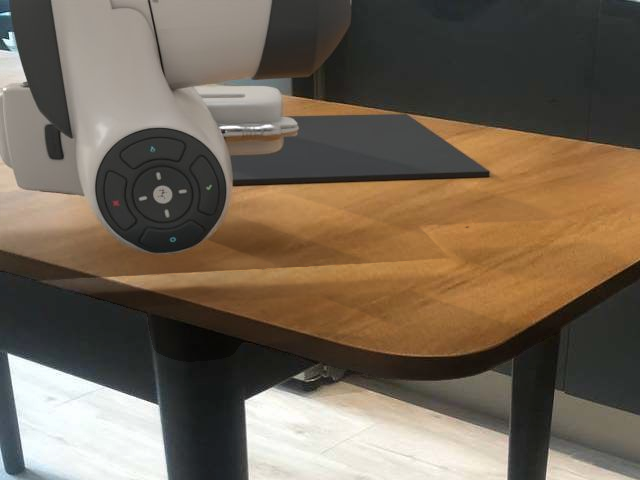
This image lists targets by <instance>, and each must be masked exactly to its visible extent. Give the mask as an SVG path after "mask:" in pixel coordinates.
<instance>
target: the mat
mask: <svg viewBox="0 0 640 480" xmlns="http://www.w3.org/2000/svg"><path fill="white" fill-rule="evenodd" d="M283 116H284V117H289V118H292V119H294V120H295V121H296V122H297V125H298V127H299V131H298V134H297V135H296V136H284V143H283V146H282V148H281V149H280V150H279V151H277V152H274V153H268V154H256V155H230V159H231V165H232V174H233V186H253V185H284V184H285V185H286V184H287V185H288V184H310V183H311V184H316V183H342V182H343V183H344V182H345V183H346V182H371V181H373V182H374V181H375V182H376V181H399V180H400V181H403V180H404V181H405V180H432V179H461V178H462V179H463V178H489V177H490V173H491V172H490V170H489V169H487V168H486V167H484V166H483V165H481V164H480V163H478V162H477V161H475V160H474V159H473V158H471V156H469V155H467V154H465V153H464V152H462V151H461V150H460V149H458V148H457V147H455V146H454V145H452V144H451V143H449V142H448V141H446V140H445V139H444V138H443V137H441V136H440V135H438V134H436V133H435V132H434V131H432V130H431V129H429V128H428V127H426V126H425V125H423V124H422V123H421V122H419V121H417V120H416V119H415V118H414V117H412V116H410V115H409V114H407V113H390V114H388V113H385V114H384V113H383V114H334V115H327V114H326V115H283Z"/></svg>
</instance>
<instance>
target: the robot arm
mask: <svg viewBox="0 0 640 480" xmlns="http://www.w3.org/2000/svg"><path fill="white" fill-rule="evenodd" d="M8 2H9V3H8V5H9V12H10V18H11V24H12V30H13V35H14V40H15V45H16V48H17V52H18V57H19V61H20V64H21V67H22V70H23V73H24V76H25V80H26V81H23V82H12V83H9V84H6V85H5V86H3V87H0V158H1V160H2V162H3V164H4V165H6V167H8V168H10V169H11V170H12V172H13V176H14V178H15V182H16V185H17V187H18V188H19V189H22V190H25V191H35V192H42V193H53V194H61V195H71V196H73V195H74V196H80V197H84V198H85V200H86V202H87V204H88V206H89V208H90V210H91V212H92V214H93V215H94V217H95V218H96V220H97V221H98V223H99V224H100V226H102V227H103V229H104V230H105V231H106V232H107V233H108V234H109V235H110V236H111V237H112V238H114V239H115V240H116V241H117V242H119V243H120V244H122V245H124V246H126V247H128V248H130V249H131V250H135V251H137V252H142V253H146V254H151V255H160V256H162V255H163V256H165V255H176V254H180V253H184V252H187V251H189V250H191V249H194V248H196V247H197V246H199V245H201V244H202V243H204V242H206V241H207V240H208V239H210V237H212V236H213V234H215V233H216V232H217V231H218V229H219V228H220V227H221V225H222V224H223V222H224V220H225V218H226V217H227V214H228V211H229V209H230V205H231V202H232V201H231V200H232V197H233V187H234V185H233V174H232V165H231V159H230V155H256V154H268V153H274V152H277V151H279V150H280V149H281V148H282V146H283V143H284V136H296V135H297V134H298V131H299V127H298V125H297V122H296V121H295V120H294V119H292V118H289V117H284V116H285V115H284V106H283V105H284V104H283V96H282V93H281V91H280V90H279V89H278V88H276V87H273V86H267V85H224V86H223V85H219V86H218V85H217V86H209V85H213V84H220V83H226V82H233V81H239V80H245V79H251V80H252V81H261V80H278V79H295V78H309V77H310V76H311V75H313V74H314V73H315V72H316V71H317V70H318V69H319V68H320V67H321V66H322V65H323V64H324V63H325V62H326V61H327V60H328V58H329V57H330V56H331V55H332V54H333V52H334V51H335V50H336V48H337V47H338V46H339V44H340V43H341V41H342V40H343V38H344V36H345V35H346V34H347V31H348V29H349V28H350V26H351V22H352V0H8ZM206 85H208V86H206Z"/></svg>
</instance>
